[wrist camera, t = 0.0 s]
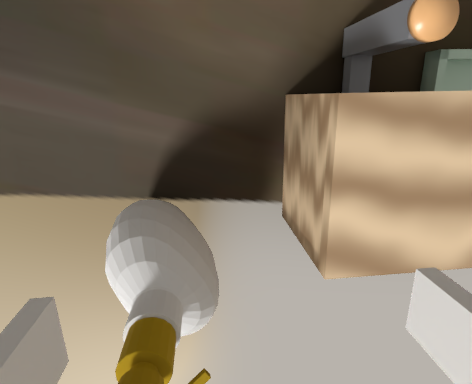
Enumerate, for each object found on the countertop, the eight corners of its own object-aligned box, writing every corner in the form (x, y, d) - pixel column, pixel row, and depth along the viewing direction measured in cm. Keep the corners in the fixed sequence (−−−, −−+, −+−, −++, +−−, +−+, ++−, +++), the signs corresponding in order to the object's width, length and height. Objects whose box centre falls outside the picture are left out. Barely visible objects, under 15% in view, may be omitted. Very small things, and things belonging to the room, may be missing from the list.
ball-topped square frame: (308, 25, 34) (366, -15, 22) (404, 25, 35) (511, -13, 23) (300, 198, 40) (342, 242, 28) (382, 193, 41) (458, 234, 29)
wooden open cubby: (285, 94, 36) (339, 93, 22) (412, 92, 38) (538, 89, 24) (282, 215, 41) (324, 279, 27) (395, 209, 42) (492, 266, 28)
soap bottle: (236, 249, 42) (284, 471, 17) (183, 284, 43) (156, 546, 18) (170, 165, 37) (106, 300, 13) (112, 206, 38) (-53, 408, 13)
